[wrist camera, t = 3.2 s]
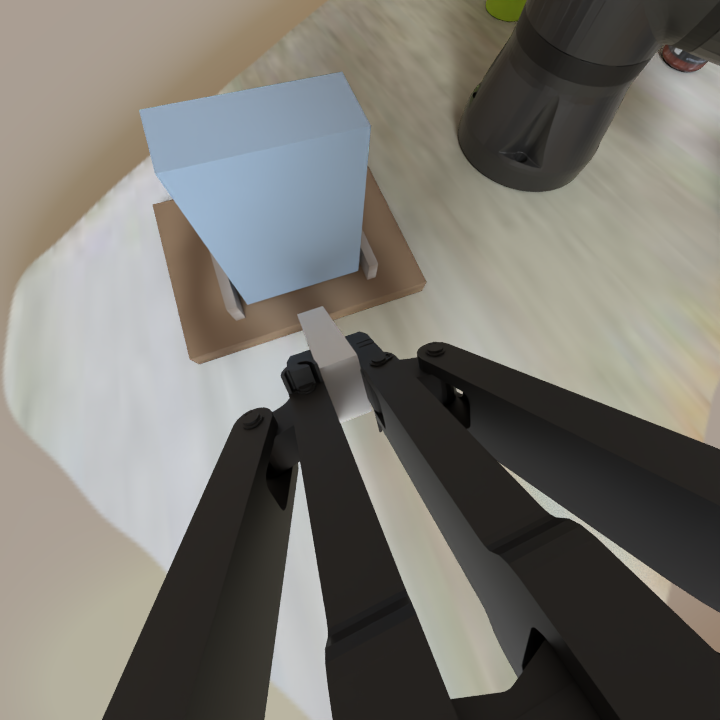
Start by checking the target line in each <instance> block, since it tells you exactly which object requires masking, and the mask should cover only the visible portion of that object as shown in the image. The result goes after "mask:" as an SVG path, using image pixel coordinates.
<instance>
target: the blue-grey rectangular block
mask: <svg viewBox="0 0 720 720" xmlns="http://www.w3.org/2000/svg"><path fill="white" fill-rule="evenodd" d="M139 111H140V115H141V119H142V123H143V127H144V131H145V135H146V139H147V143H148V147H149V151H150V155H151V159H152V163H153V167H154V171H155V174H156V176H157V177H158V179H159V180H160V181H161V183H162V184H163V186H164V187H165V188H166V190H167V191H168V193H169V194H170V196H171V197H172V198H173V200H174V201H175V203H176V204H177V205H178V207H179V208H180V210H181V211H182V213H183V214H184V215H185V217H186V218H187V220H188V221H189V222H190V224H191V225H192V227H193V228H194V229H195V231H196V232H197V234H198V235H199V237H200V238H201V239H202V241H203V242H204V244H205V245H206V246H207V248H208V249H209V251H210V252H211V254H212V255H213V256H214V258H215V259H216V261H217V262H218V263H219V265H220V266H221V268H222V269H223V271H224V272H225V273H226V275H227V276H228V278H229V279H230V280H231V282H232V283H233V285H234V286H235V288H236V289H237V290H238V292H239V293H240V295H241V296H242V297H243V299H244V300H245V302H246V303H247V305H249V304H252V303H255V302H258V301H262V300H265V299H268V298H271V297H275V296H278V295H281V294H284V293H288V292H291V291H294V290H298V289H301V288H304V287H307V286H311V285H314V284H317V283H320V282H324V281H327V280H330V279H333V278H337V277H340V276H343V275H346V274H350V273H353V272H356V271H358V268H359V256H360V245H361V233H362V222H363V210H364V199H365V187H366V176H367V164H368V153H369V141H370V130H371V125H370V123H369V121H368V119H367V118H366V116H365V114H364V112H363V110H362V108H361V106H360V104H359V103H358V101H357V99H356V97H355V95H354V93H353V91H352V89H351V87H350V86H349V84H348V82H347V80H346V78H345V76H344V74H343V72H338V73H332V74H327V75H322V76H316V77H311V78H306V79H300V80H295V81H290V82H284V83H279V84H274V85H268V86H263V87H258V88H253V89H247V90H242V91H237V92H231V93H226V94H221V95H215V96H210V97H205V98H199V99H194V100H189V101H184V102H178V103H173V104H167V105H162V106H157V107H152V108H147V109H141V110H139Z"/></svg>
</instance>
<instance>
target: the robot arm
mask: <svg viewBox="0 0 720 720" xmlns="http://www.w3.org/2000/svg"><path fill="white" fill-rule="evenodd" d="M663 45H670V46H673V47H676V48H678V49H681V50H683V51H686V52H687V53H690V54H692V55H695V56H697V57H699V58H702V59H704V60H707V61H709V62H712V63H714V64H717V65H719V66H720V0H526V3H525V5H524V8H523V10H522V12H521V15H520V17H519V20H518V22H517V24H516V27H515V29H514V31H513V33H512V35H511V37H510V38H509V40H508V41H507V43H506V44H505V46H504V47H503V49H502V50H501V52H500V53H499V55H498V56H497V58H496V59H495V61H494V62H493V64H492V65H491V67H490V68H489V70H488V72H487V73H486V75H485V77H484V78H483V80H482V82H481V83H480V84H479V85H478V86H477V87H476V88H475V90H474V91H473V93H472V94H471V96H470V98H469V100H468V102H467V104H466V107H465V110H464V113H463V115H462V118H461V121H460V124H459V129H458V136H459V141H460V145H461V148H462V150H463V152H464V154H465V155H466V157H467V158H468V160H469V161H470V162H471V163H472V164H473V165H474V166H475V167H476V168H477V169H478V170H479V171H480V172H481V173H483V174H484V175H485V176H487V177H488V178H490V179H492V180H493V181H495V182H497V183H500V184H502V185H504V186H507V187H510V188H513V189H517V190H522V191H530V192H542V191H550V190H554V189H557V188H560V187H562V186H564V185H566V184H568V183H569V182H571V181H572V180H573V179H574V178H575V177H576V176H577V175H578V174H579V173H580V172H581V170H582V169H583V168H584V167H585V166H586V165H587V164H588V162H589V161H590V160H591V159H592V157H593V156H594V154H595V153H596V151H597V149H598V147H599V144H600V142H601V140H602V138H603V137H604V135H605V133H606V131H607V129H608V127H609V125H610V123H611V121H612V119H613V117H614V116H615V114H616V112H617V110H618V108H619V106H620V104H621V102H622V100H623V98H624V96H625V94H626V92H627V90H628V88H629V86H630V85H631V83H632V82H633V81H634V80H635V78H636V77H637V76H638V74H639V73H640V72H641V71H642V69H643V68H644V67H645V66H646V64H647V63H648V62H649V61H650V59H651V58H652V57H653V56H654V54H655V53H656V52H657V51H658V50H659V49H660V48H661V47H662V46H663ZM297 315H298V318H299V321H300V324H301V326H302V329H303V332H304V335H305V337H306V340H307V343H308V346H309V349H310V350H308V351H305V352H302V353H299V354H296V355H293V356H290V358H289V359H288V361H287V367H286V368H285V369H284V370H283V371H282V373H281V378H282V380H283V382H284V385H285V387H286V389H287V391H288V393H289V397H290V399H289V400H288V401H287V402H286V403H285V404H284V405H283V406H281V407H280V408H279V409H277V410H275V411H274V412H272V411H271V410H270V409H268V408H264V407H263V408H256V409H253V410H250V411H248V412H246V413H245V414H243V415H242V416H241V417H240V418H239V419H238V420H237V421H236V423H235V424H234V426H233V428H232V430H231V432H230V435H229V437H228V439H227V441H226V444H225V446H224V448H223V450H222V452H221V455H220V457H219V459H218V461H217V464H216V466H215V468H214V470H213V473H212V475H211V477H210V479H209V482H208V484H207V486H206V488H205V490H204V493H203V495H202V497H201V499H200V502H199V504H198V506H197V508H196V511H195V513H194V515H193V517H192V520H191V522H190V524H189V526H188V529H187V531H186V533H185V535H184V537H183V540H182V542H181V544H180V546H179V549H178V551H177V553H176V555H175V558H174V560H173V562H172V564H171V567H170V569H169V571H168V573H167V575H166V578H165V580H164V582H163V584H162V587H161V589H160V591H159V593H158V596H157V598H156V600H155V602H154V605H153V607H152V609H151V611H150V613H149V616H148V618H147V620H146V623H145V625H144V627H143V629H142V631H141V634H140V636H139V638H138V640H137V643H136V645H135V647H134V649H133V652H132V654H131V656H130V658H129V660H128V663H127V665H126V667H125V669H124V672H123V674H122V676H121V678H120V681H119V683H118V685H117V687H116V690H115V692H114V694H113V696H112V699H111V701H110V703H109V705H108V707H107V710H106V712H105V714H104V716H103V719H102V720H264V718H265V710H266V703H267V696H268V688H269V681H270V674H271V666H272V659H273V652H274V644H275V637H276V630H277V622H278V615H279V607H280V600H281V593H282V585H283V578H284V571H285V563H286V556H287V549H288V541H289V534H290V527H291V519H292V512H293V505H294V497H295V490H296V482H297V475H298V462H299V461H300V463H301V469H302V475H303V481H304V487H305V493H306V499H307V505H308V511H309V517H310V523H311V529H312V535H313V541H314V547H315V553H316V559H317V565H318V571H319V577H320V583H321V589H322V595H323V601H324V607H325V613H326V619H327V627H328V639H327V643H326V647H325V665H326V674H327V683H328V690H329V697H330V704H331V711H332V718H333V720H720V653H718V652H716V651H715V650H714V649H712V648H711V647H710V646H709V645H708V644H707V643H706V642H705V641H704V640H703V639H702V638H701V637H700V636H699V635H698V634H697V633H696V632H695V631H694V630H693V629H691V628H690V627H689V626H688V625H687V624H686V623H685V622H684V621H683V620H682V619H681V618H680V617H679V616H678V615H677V614H676V613H674V611H673V610H672V609H671V608H670V607H669V606H667V605H666V604H665V603H664V602H663V601H662V600H661V599H660V598H659V597H658V596H657V595H656V594H655V593H654V592H653V591H652V590H651V589H650V588H649V587H648V586H647V585H646V584H644V583H643V582H642V581H641V580H640V579H639V578H638V577H637V576H636V575H635V574H634V573H633V572H632V571H631V570H630V569H629V568H628V567H627V566H626V565H625V564H624V563H622V562H621V561H620V560H619V559H618V558H617V557H616V556H615V555H614V554H613V553H612V552H611V551H610V550H609V549H608V548H607V547H606V546H605V545H604V544H603V543H602V542H600V541H599V540H598V539H597V538H596V537H595V536H594V535H593V534H592V533H590V532H589V531H588V530H587V529H585V528H584V527H583V526H582V525H580V524H578V523H576V522H575V521H573V520H571V519H568V518H557V517H554V516H552V515H551V514H549V513H548V512H547V511H546V510H544V509H543V508H542V507H541V506H540V505H539V504H538V503H537V502H536V501H535V499H534V498H533V497H532V496H531V495H530V494H529V493H528V492H527V491H526V490H525V489H524V488H523V487H522V486H521V485H520V484H519V483H518V482H517V481H516V480H515V479H514V478H513V477H512V476H511V475H510V474H509V473H508V472H507V471H506V470H505V469H504V467H503V466H502V465H504V466H505V467H506V468H508V469H509V470H511V471H512V472H514V473H515V474H517V475H518V476H519V477H521V478H522V479H524V480H525V481H527V482H528V483H529V484H531V485H532V486H534V487H535V488H537V489H538V490H539V491H541V492H542V493H544V494H545V495H547V496H548V497H550V498H551V499H552V500H554V501H555V502H557V503H558V504H560V505H561V506H562V507H564V508H565V509H567V510H568V511H570V512H571V513H572V514H574V515H575V516H577V517H578V518H580V519H581V520H583V521H584V522H585V523H587V524H588V525H590V526H591V527H593V528H594V529H595V530H597V531H598V532H600V533H601V534H603V535H604V536H605V537H607V538H608V539H610V540H611V541H613V542H614V543H616V544H617V545H618V546H620V547H621V548H623V549H624V550H626V551H627V552H628V553H630V554H631V555H633V556H634V557H636V558H637V559H638V560H640V561H641V562H643V563H644V564H646V565H647V566H649V567H650V568H651V569H653V570H654V571H656V572H657V573H659V574H660V575H661V576H663V577H664V578H666V579H667V580H669V581H670V582H672V583H673V584H675V585H676V586H678V587H680V588H681V589H683V590H684V591H686V592H687V593H689V594H690V595H692V596H694V597H695V598H696V599H698V600H699V601H701V602H703V603H704V604H706V605H708V606H709V607H711V608H713V609H715V610H716V611H718V612H720V449H718V448H715V447H713V446H710V445H707V444H705V443H702V442H700V441H697V440H695V439H692V438H689V437H687V436H684V435H682V434H679V433H677V432H674V431H671V430H669V429H666V428H664V427H661V426H659V425H656V424H653V423H651V422H648V421H646V420H643V419H641V418H638V417H635V416H633V415H630V414H628V413H625V412H622V411H620V410H617V409H615V408H612V407H610V406H607V405H604V404H602V403H599V402H597V401H594V400H592V399H589V398H586V397H584V396H581V395H579V394H576V393H574V392H571V391H568V390H566V389H563V388H561V387H558V386H556V385H553V384H550V383H548V382H545V381H543V380H540V379H538V378H535V377H532V376H530V375H527V374H525V373H522V372H519V371H517V370H514V369H512V368H509V367H507V366H504V365H501V364H499V363H496V362H494V361H491V360H489V359H486V358H483V357H481V356H478V355H476V354H473V353H471V352H468V351H465V350H463V349H460V348H458V347H455V346H453V345H450V344H447V343H443V342H432V343H428V344H426V345H423V346H422V347H420V348H419V349H418V351H417V357H416V358H411V359H403V360H399V359H398V358H397V357H396V356H395V355H393V354H392V353H388V352H383V351H382V350H381V349H380V348H379V347H378V346H377V344H376V343H374V341H373V340H372V339H371V338H370V337H369V336H368V335H367V334H365V333H362V332H357V333H354V334H351V335H348V336H345V337H344V335H343V334H342V333H341V331H340V330H339V328H338V327H337V325H336V324H335V323H334V321H333V320H332V318H331V317H330V316H329V314H328V313H327V311H326V310H325V308H324V307H323V306H321V307H318V308H315V309H312V310H309V311H306V312H303V313H300V314H297ZM456 388H457V389H459V390H461V391H462V392H463V394H460V393H458V392H457V391H456ZM370 403H371V405H372V407H373V408H374V412H375V416H376V420H377V424H378V428H379V431H380V432H382V430H383V431H384V433H385V435H386V437H387V438H388V440H389V442H390V444H391V445H392V447H393V449H394V451H395V452H396V454H397V456H398V458H399V459H400V461H401V463H402V465H403V466H404V468H405V470H406V472H407V473H408V475H409V477H410V479H411V480H412V482H413V484H414V486H415V487H416V489H417V491H418V493H419V494H420V496H421V498H422V500H423V501H424V503H425V505H426V507H427V508H428V510H429V512H430V514H431V515H432V517H433V519H434V521H435V522H436V524H437V526H438V528H439V529H440V531H441V533H442V535H443V536H444V538H445V540H446V542H447V543H448V545H449V547H450V549H451V550H452V552H453V554H454V556H455V557H456V559H457V561H458V563H459V565H460V566H461V568H462V570H463V572H464V573H465V575H466V577H467V579H468V580H469V582H470V584H471V586H472V587H473V589H474V591H475V593H476V594H477V596H478V598H479V600H480V601H481V603H482V605H483V607H484V609H485V611H486V613H487V615H488V618H489V620H490V623H491V626H492V628H493V631H494V633H495V635H496V638H497V640H498V642H499V644H500V646H501V648H502V650H503V652H504V654H505V655H506V657H507V659H508V661H509V663H510V665H511V666H512V668H513V670H514V672H515V674H516V675H517V677H518V679H517V680H516V682H515V683H514V685H513V686H512V687H511V688H510V689H509V690H507V691H505V692H501V693H493V694H486V695H479V696H471V697H464V698H456V699H450V697H449V695H448V692H447V690H446V687H445V685H444V682H443V680H442V677H441V675H440V672H439V669H438V667H437V664H436V662H435V659H434V657H433V654H432V652H431V649H430V647H429V644H428V642H427V639H426V637H425V634H424V632H423V629H422V627H421V624H420V622H419V619H418V617H417V614H416V612H415V609H414V607H413V605H412V602H411V600H410V598H409V596H408V594H407V591H406V589H405V586H404V584H403V581H402V579H401V576H400V574H399V571H398V569H397V566H396V564H395V561H394V558H393V556H392V553H391V551H390V548H389V546H388V543H387V541H386V538H385V536H384V533H383V530H382V528H381V525H380V523H379V520H378V518H377V515H376V513H375V510H374V508H373V505H372V503H371V500H370V497H369V495H368V492H367V490H366V487H365V485H364V482H363V480H362V477H361V475H360V472H359V469H358V467H357V464H356V462H355V459H354V457H353V454H352V452H351V449H350V447H349V444H348V441H347V439H346V436H345V434H344V431H343V429H342V426H341V424H340V423H343V422H345V421H348V420H350V419H353V418H355V417H358V416H360V415H363V414H365V413H368V412H370V411H372V409H371V405H370ZM500 463H501V464H502V465H501V464H500Z"/></svg>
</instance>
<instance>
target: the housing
mask: <svg viewBox="0 0 720 720" xmlns="http://www.w3.org/2000/svg"><path fill="white" fill-rule="evenodd" d="M153 208H154V212H155V217H156V221H157V225H158V229H159V233H160V237H161V242H162V246H163V250H164V254H165V258H166V262H167V267H168V271H169V275H170V279H171V283H172V287H173V292H174V296H175V300H176V304H177V308H178V312H179V316H180V321H181V325H182V329H183V333H184V337H185V341H186V346H187V350H188V354H189V358H190V360H192V361H194V362H196V363H198V364H202V363H205V362H208V361H211V360H214V359H217V358H220V357H223V356H226V355H229V354H232V353H235V352H238V351H241V350H244V349H247V348H250V347H253V346H256V345H259V344H262V343H265V342H268V341H271V340H274V339H277V338H280V337H283V336H286V335H289V334H292V333H295V332H298V331H301V330H303V329H302V326H301V324H300V321H299V318H298V315H297V314H300V313H303V312H306V311H309V310H312V309H315V308H318V307H321V306H323V307H324V308H325V310H326V311H327V313H328V314H329V316H330V317H331V318H332V320H335V319H338V318H341V317H344V316H347V315H350V314H353V313H356V312H359V311H362V310H365V309H368V308H371V307H374V306H377V305H380V304H383V303H386V302H389V301H392V300H395V299H398V298H401V297H404V296H407V295H410V294H413V293H416V292H419V291H422V290H423V288H424V286H425V284H426V280H425V278H424V276H423V274H422V272H421V270H420V268H419V266H418V264H417V262H416V260H415V258H414V256H413V254H412V252H411V250H410V248H409V246H408V244H407V242H406V240H405V238H404V236H403V235H402V233H401V231H400V229H399V227H398V225H397V223H396V221H395V219H394V217H393V215H392V213H391V211H390V209H389V207H388V205H387V203H386V201H385V199H384V197H383V195H382V193H381V191H380V189H379V187H378V185H377V183H376V181H375V179H374V177H373V175H372V173H371V171H370V169H369V167H368V165H367V176H366V187H365V199H364V210H363V222H362V233H361V245H360V256H359V268H358V271H356V272H353V273H350V274H346V275H343V276H340V277H337V278H333V279H330V280H327V281H324V282H320V283H317V284H314V285H311V286H307V287H304V288H301V289H298V290H294V291H291V292H288V293H284V294H281V295H278V296H275V297H271V298H268V299H265V300H262V301H258V302H255V303H252V304H249V305H247V303H246V302H245V300H244V299H243V297H242V296H241V295H240V293H239V292H238V290H237V289H236V288H235V286H234V285H233V283H232V282H231V280H230V279H229V278H228V276H227V275H226V273H225V272H224V271H223V269H222V268H221V266H220V265H219V263H218V262H217V261H216V259H215V258H214V256H213V255H212V254H211V252H210V251H209V249H208V248H207V246H206V245H205V244H204V242H203V241H202V239H201V238H200V237H199V235H198V234H197V232H196V231H195V229H194V228H193V227H192V225H191V224H190V222H189V221H188V220H187V218H186V217H185V215H184V214H183V213H182V211H181V210H180V208H179V207H178V205H177V204H176V203H175V201H174V200H170V201H165V202H161V203H157V204H153Z"/></svg>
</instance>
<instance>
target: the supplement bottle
mask: <svg viewBox="0 0 720 720" xmlns="http://www.w3.org/2000/svg"><path fill="white" fill-rule="evenodd" d="M663 58H664V60H665V61H666V63H668V64H669V65H670V66H671V67H672V68H674V69H677V70H679V71H683V72H693V71H696V70H699V69H700V68H702V67H703V66H704V65H705V64H706V63H707V62H708V61H707V60H704V59H702V58H699V57H697V56H695V55H692V54H690V53H687V52H686V51H683V50H681V49H678V48H676V47H673V46H670V45H665V47H664V49H663Z"/></svg>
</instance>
